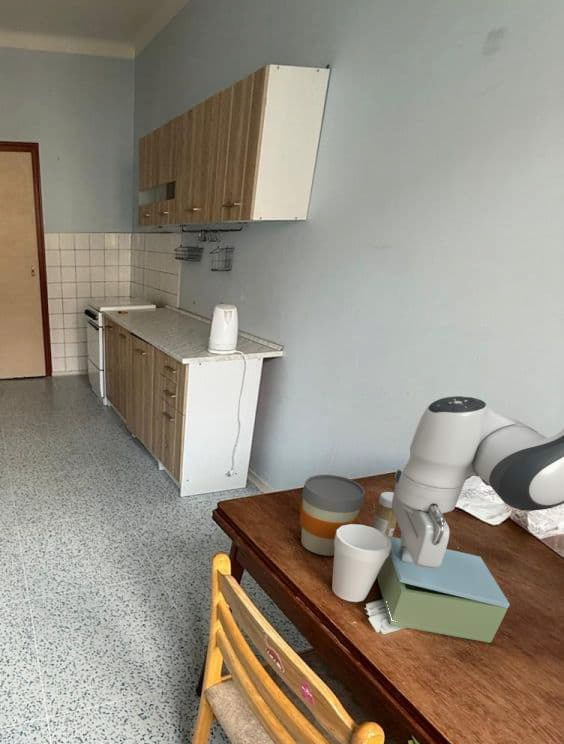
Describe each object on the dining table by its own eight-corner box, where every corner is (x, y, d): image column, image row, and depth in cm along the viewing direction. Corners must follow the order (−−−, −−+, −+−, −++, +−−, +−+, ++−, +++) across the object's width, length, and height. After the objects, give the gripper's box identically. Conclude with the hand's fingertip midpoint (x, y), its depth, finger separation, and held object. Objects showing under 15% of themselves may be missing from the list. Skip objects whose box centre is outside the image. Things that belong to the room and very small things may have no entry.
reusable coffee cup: (315, 523, 117) (326, 469, 110) (362, 547, 107) (378, 490, 100) (281, 540, 111) (291, 484, 104) (328, 567, 102) (343, 507, 94)
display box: (390, 624, 86) (401, 591, 83) (377, 578, 98) (386, 547, 94) (490, 643, 82) (507, 608, 78) (464, 592, 94) (478, 560, 90)
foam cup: (324, 572, 100) (336, 520, 94) (372, 582, 97) (388, 529, 91) (323, 600, 92) (336, 546, 86) (376, 612, 89) (393, 557, 83)
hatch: (399, 581, 82) (401, 578, 82) (384, 538, 94) (386, 535, 93) (507, 608, 78) (510, 604, 78) (478, 560, 90) (480, 556, 89)
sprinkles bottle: (392, 552, 106) (409, 500, 99) (372, 553, 106) (387, 501, 99) (381, 541, 110) (396, 490, 103) (362, 542, 110) (376, 491, 103)
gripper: (469, 526, 71) (440, 597, 77) (432, 469, 88) (411, 531, 94) (422, 520, 72) (397, 590, 79) (394, 465, 90) (376, 526, 96)
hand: (405, 557), depth 87 cm, fingers closed, pressing on hatch
